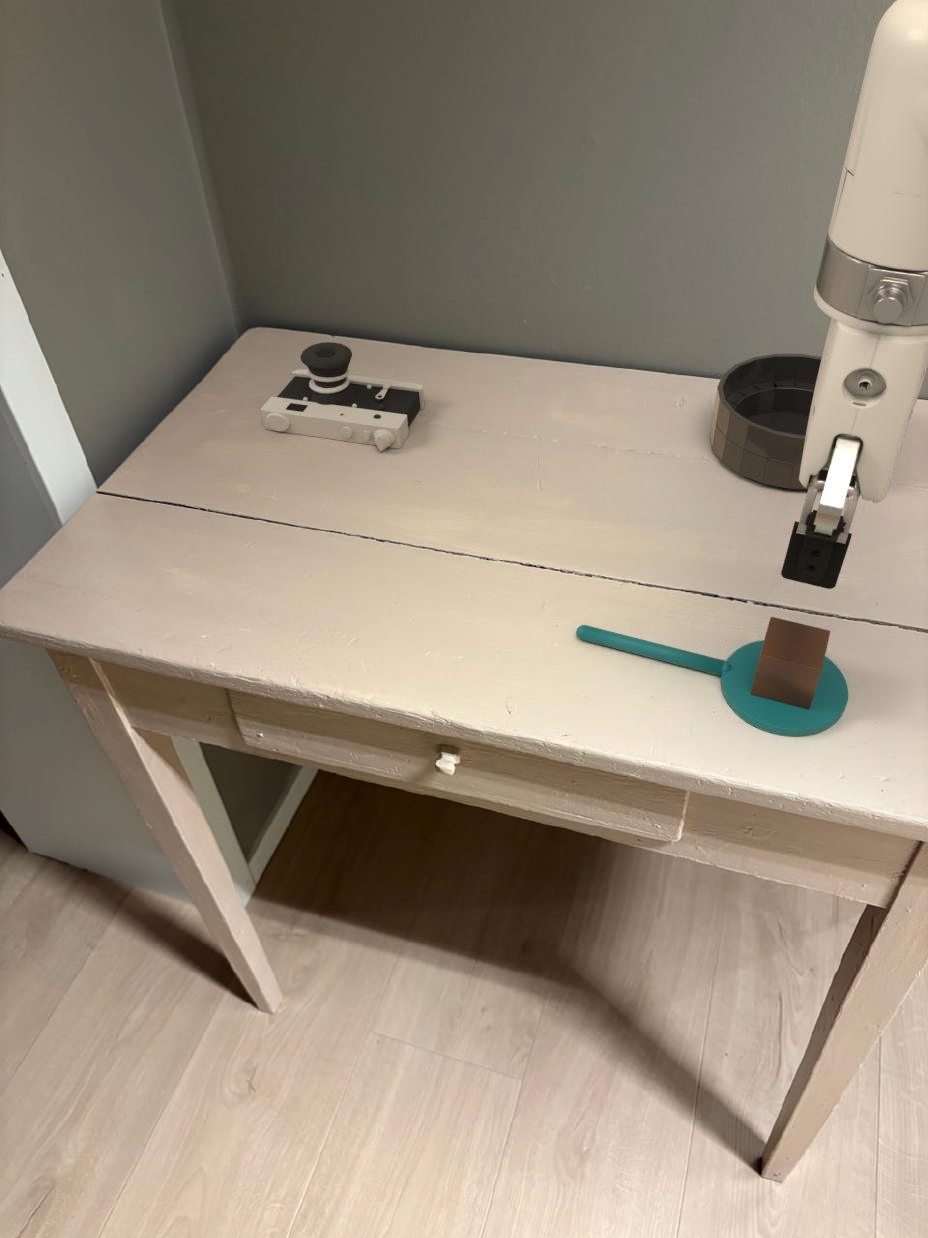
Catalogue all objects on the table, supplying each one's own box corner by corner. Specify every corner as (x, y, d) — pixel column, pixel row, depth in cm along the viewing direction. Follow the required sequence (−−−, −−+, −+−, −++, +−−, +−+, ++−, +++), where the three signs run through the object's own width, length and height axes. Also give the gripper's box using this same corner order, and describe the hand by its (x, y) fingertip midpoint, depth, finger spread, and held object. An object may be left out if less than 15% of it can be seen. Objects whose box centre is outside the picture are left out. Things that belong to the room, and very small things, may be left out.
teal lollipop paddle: (853, 664, 73) (857, 653, 72) (837, 751, 67) (840, 740, 66) (593, 599, 79) (594, 589, 79) (557, 674, 74) (558, 663, 73)
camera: (423, 344, 98) (388, 394, 91) (428, 404, 102) (395, 456, 96) (287, 328, 101) (244, 375, 95) (298, 387, 106) (258, 435, 100)
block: (818, 670, 72) (830, 630, 69) (809, 710, 69) (821, 670, 66) (761, 655, 73) (770, 616, 70) (750, 694, 70) (759, 655, 67)
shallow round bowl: (877, 421, 96) (893, 367, 92) (859, 507, 87) (875, 451, 82) (727, 395, 101) (736, 343, 97) (694, 474, 91) (702, 420, 87)
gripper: (964, 369, 43) (864, 638, 55) (981, 219, 54) (895, 470, 66) (792, 341, 45) (732, 605, 57) (842, 203, 56) (783, 448, 68)
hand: (819, 532), depth 61 cm, fingers open, 9 cm apart
